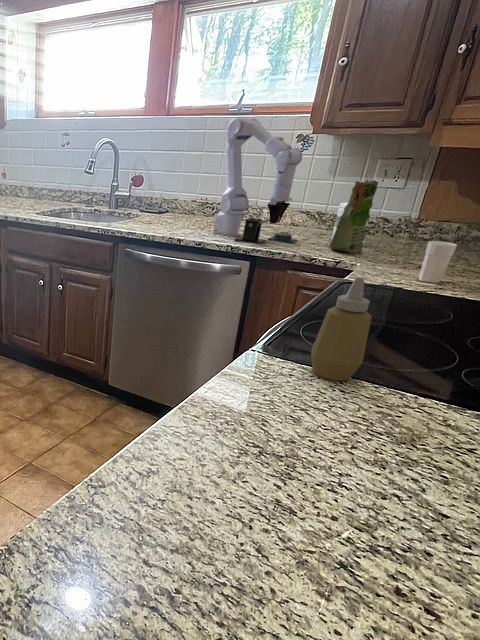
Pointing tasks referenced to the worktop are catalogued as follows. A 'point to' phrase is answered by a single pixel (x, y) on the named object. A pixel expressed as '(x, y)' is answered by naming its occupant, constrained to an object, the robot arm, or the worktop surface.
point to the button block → (282, 238)
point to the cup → (436, 260)
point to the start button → (283, 232)
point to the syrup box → (338, 216)
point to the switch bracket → (251, 232)
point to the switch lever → (266, 221)
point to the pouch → (354, 218)
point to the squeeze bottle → (343, 336)
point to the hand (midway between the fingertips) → (274, 223)
